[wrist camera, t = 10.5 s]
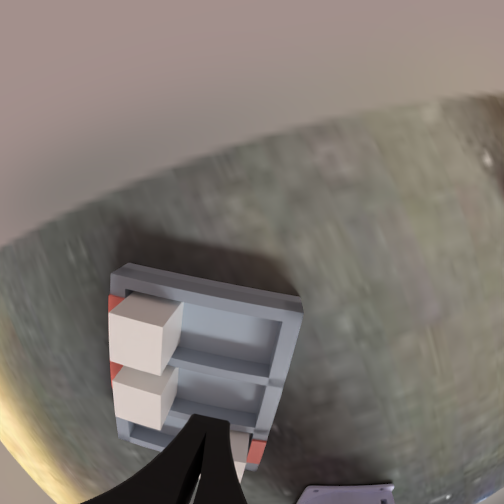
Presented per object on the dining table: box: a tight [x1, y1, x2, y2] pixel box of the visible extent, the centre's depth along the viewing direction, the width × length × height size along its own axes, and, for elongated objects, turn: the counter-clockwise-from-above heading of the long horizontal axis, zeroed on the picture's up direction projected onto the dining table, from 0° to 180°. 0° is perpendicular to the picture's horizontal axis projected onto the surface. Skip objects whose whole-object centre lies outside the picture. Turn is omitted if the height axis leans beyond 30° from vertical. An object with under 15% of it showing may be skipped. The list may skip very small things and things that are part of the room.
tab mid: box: [112, 365, 179, 431], centre depth 18 cm, size 3×3×4 cm
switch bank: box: [108, 263, 304, 471], centre depth 19 cm, size 11×14×3 cm
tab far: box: [199, 430, 250, 483], centre depth 19 cm, size 3×3×4 cm
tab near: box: [109, 291, 184, 376], centre depth 17 cm, size 3×3×4 cm
